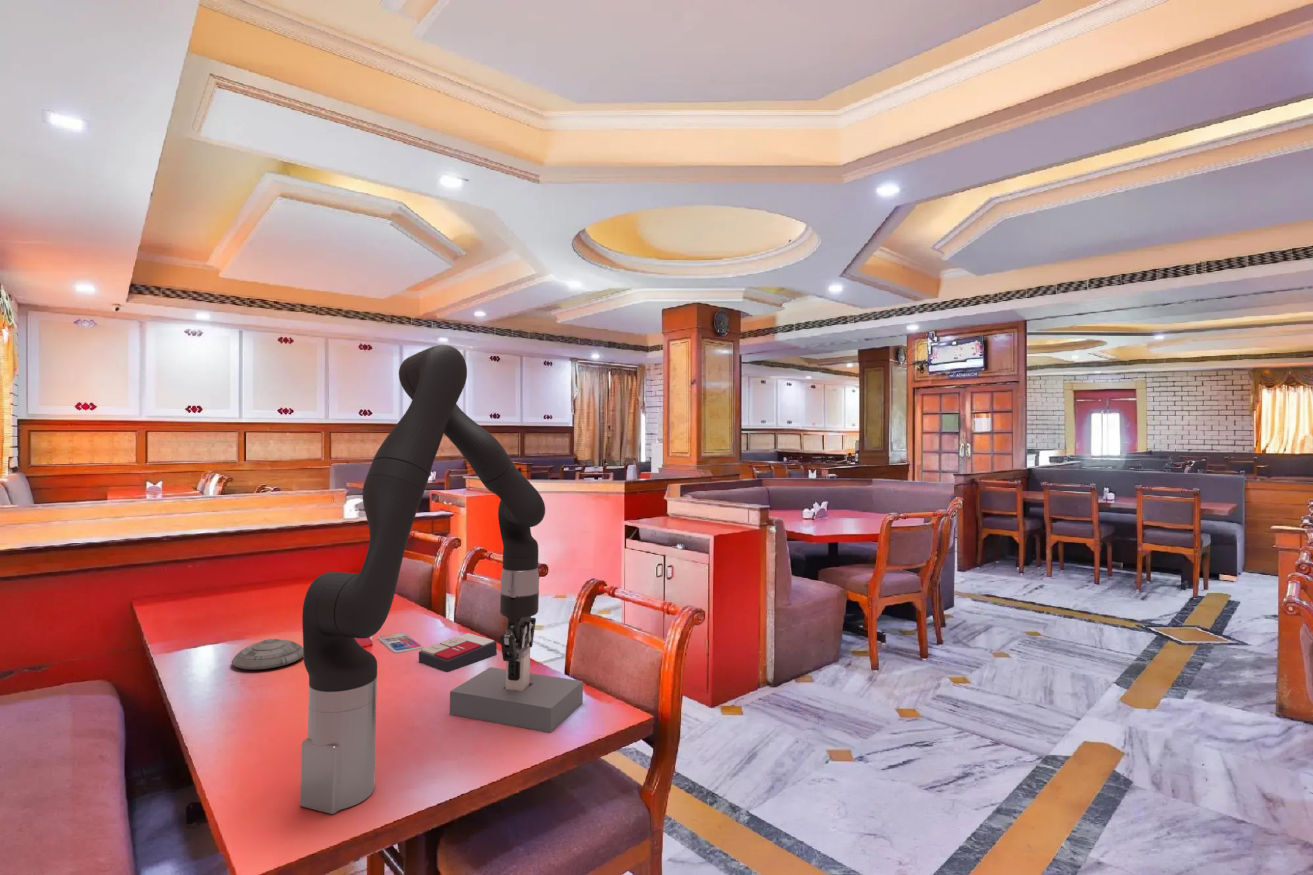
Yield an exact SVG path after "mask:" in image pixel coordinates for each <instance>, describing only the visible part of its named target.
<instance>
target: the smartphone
mask: <svg viewBox="0 0 1313 875" xmlns="http://www.w3.org/2000/svg"><path fill="white" fill-rule="evenodd" d="M377 640H378V641H379V642H380V643H382V644H383V645H384V646H385V647H386V649H388V650H390V651H391V652H392V653H393V654H396V655H398V654H402V653H409V652H413V651H418V650H421V649H423V648H424V646H423V645H422V644H421V643H419V642H418V641H417V640H415V639H414V638H413V637H411V636H410V635H408V633H406V632H397V633H393V634H391V633H390V634H386V635H380V636H378V638H377Z"/></svg>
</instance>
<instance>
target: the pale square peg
mask: <svg viewBox="0 0 1313 875" xmlns="http://www.w3.org/2000/svg"><path fill="white" fill-rule="evenodd" d="M516 651H517V650H516ZM511 655H512V654H511ZM505 664H506V665H505V669H506V689H509V690H515V691H521V692H523V691H524V690H525V689H527V688H528V687H529V677H530V673H531V672H530V670H531V668H530V666H531V648H530V646H524V648H523V649H522V650H521V659H520V679H519V680H517V681H513V680H509V679H508V661H505Z"/></svg>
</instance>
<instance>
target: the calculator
mask: <svg viewBox="0 0 1313 875" xmlns="http://www.w3.org/2000/svg"><path fill="white" fill-rule="evenodd" d="M497 650H498V646H497V641H496V640H494V639H492V638H487V637H484V636H479V635H476V634H473V633H470V632H466V633H464V634H462V635H458V636H457V637H451V638H448V639H446V640H442V641H440V642H439V643H434V644H432V645H429V646H427V647H423V648H422V649H420V651H419V652H418V663H420V664H423V665H425V666H428V667H431V668H434V669H436V670H440V671H443V672H446V673H449V672H452V671H453V672H454V671H455V670H458V669H461V668H463V667H466V666H469V665H471V664H474V663H477V662H480V661H481V660H487V659H490V658H491V657H496V656H497V655H498V653H497Z"/></svg>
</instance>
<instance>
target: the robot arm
mask: <svg viewBox="0 0 1313 875" xmlns="http://www.w3.org/2000/svg"><path fill="white" fill-rule="evenodd" d="M467 377H468V366H467V363H466V359H465V358H464V355H463V354H462V353H461V351H460V350H458V349H457V348H455V347H454V346H451V345H448V344H440V345H435V346H434V345H433V346H431V347H428V348H426V349H423V350H422V351H418V352H417V353H414V354H413V355H410V356H408V357H407V358H405V359H404V360H403V361H402V362H401V364H400V366H399V370H398V379H399V382H400V385H401V387H402V389H403V390H404V392H405V393H406V395H407V396H408V397H409V398H410V399H411V402H410V404H409V406H408V408H407V410H406V411H405V413H404V414H403V416H402V417H401V418H400V419H399V421H398V422H397V423H396V425H395V426H394V427H393V428H392V429H391V431H390V432H389V434H387V436H386V437H385V438H384V441H383V442H382V443H381V444H380V446H379V447H378V449H377V450H376V452H375V455H374V457H373V458H372V459H373V460H372V462H371V464H370V467H369V469H368V472H367V475H366V476H365V480H364V483H363V487H362V502H363V508H364V512H365V513H364V514H365V517H366V521H367V524H368V530H369V542H368V548H367V552H366V556H365V559H364V562H363V565H362V567H361V570H360V572H359V573H352V572H342V571H328V572H325V573H322V574H320V575H319V576H317V577H316V578H314V580H313V581H312V583H311V584H310V585H309V587H308V589H307V590H306V594H305V597H304V600H303V603H302V604H303V605H302V616H301V618H302V619H301V620H302V622H301V623H302V624H301V625H302V647H303V664H304V667H305V670H306V673H307V675H308V709H307V711H308V714H307V715H308V716H307V738H305V739H304V740H302V742H301V761H300V764H301V765H300V802H299V803H300V807H303V808H307V809H311V810H314V811H319V812H323V813H326V814H330V815H334V814H336V813H337V812H339V811H341V810H346V809H348V808H351V807H353V806H357V805H358V804H360V803H362V802H364V801H366V799H368V798H369V797H370V796H371V795H372V794H373V792H374V791H375V787H376V786H375V785H376V784H375V783H376V782H375V781H376V779H375V778H376V776H375V775H376V738H377V736H376V734H377V732H376V730H377V729H376V728H377V695H378V694H377V688H378V687H377V683H378V661H377V658H376V657H375V655H374V654H373V653H371V652H369V651H368V650H366V648H364V647H363V646H361V645H360V644H359V643H358V641H357V640H356V639H369V638H371V637H372V636H373V637H374V636H375V635H376V634H377V633H378V632H379V631H380V630H381V629H382V627H383V625H385V622H386V620H387V619H388V616H389V613H390V612H391V608H392V605H393V602H394V599H395V598H394V597H395V592H396V590H397V583H398V580H399V576H400V571H401V567H402V563H403V558H404V556H405V550H406V546H407V545H408V544H407V543H408V540H409V536H410V534H411V531H412V527H413V525H414V521H415V519H416V514H417V512H418V509H419V507H420V504H421V502H422V499H423V496H424V494H425V491H426V487H427V484H428V481H429V479H430V475H431V471H432V469H433V465H434V461H435V459H436V456H437V454H438V451H439V448H440V445H441V442H442V439H443V436H446V437H447V438H448V440H449V441H450V442H452V444H453V445H454V446H455V447H456V449H457V450H458V451H459V453H460V454H461V455H462V456H463V457H464V459H465V460H466V461H467V463H468V464H469V466H470V467H471V469H472V470H473V472H474V473H475V474H476V476H477V477H478V479H479V480H480V481H481V482H482V484H483V486H484V487H485V489H487V490H488V492H491V493H493V494H495V495H496V496H497V497H498V498H499V499H500V501H499V504H498V510H497V511H498V512H497V516H498V517H497V518H498V525H499V532H500V537H501V541H502V547H503V548H502V549H503V550H502V568H501V569H502V571H501V575H500V576H501V577H500V599H499V600H500V607H499V611H500V615H501V616H503V617H505V618H507V624H506V628H505V633H504V634H503V633H501V634H500V639H499V640H500V646H501V653H502V659H503V662H506V661H508V679H509V680H513V681H517V680H519V679H520V659H521V650H522V649H523V648H524V646H530V649H531V648H533V646H534V644H533V642H534V637H535V629H536V623H537V618H536V617H534V616H535V615H537V614H538V612H539V601H540V600H539V599H540V598H539V596H540V574H539V544H538V541H537V539H535V538H534V537H533V535H532V531H531V528H532V527H536V526H538V525H539V524H540V523H541V522H542V521H543V520H544V518H545V515H546V506H545V505H546V503H545V501H544V500H543V497H542V495H541V494H540V492H539V491H538V490H537V489H536V488H535V487H534V485H532V483H531V482H530V480H528V479H527V478H526V477H525V476H524V474H522V473H521V472H520V471H519V470H518V468H517V467H516V465H515V463H514V462H513V459H511V457H510V455H509V454H508V452H507V451H506V450H505V448H504V446H503V445H502V444H501V442H499V441H498V439H497V438H496V437H495V436H494V435H492V434H491V432H489V431H488V430H486V429H485V428H483V426H481V425H480V424H478V423H477V422H476V421H475V420H473V419H472V418H471V417H469V416H468V415H467V414H466V413H465V412H464V411H463V410H462V409H461V408H460V407H459V405H458V404H457V403H458V401H459V399H460V397H461V395H462V392H463V390H464V388H465V385H466V382H467ZM516 650H517V651H516ZM511 654H512V655H511Z"/></svg>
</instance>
